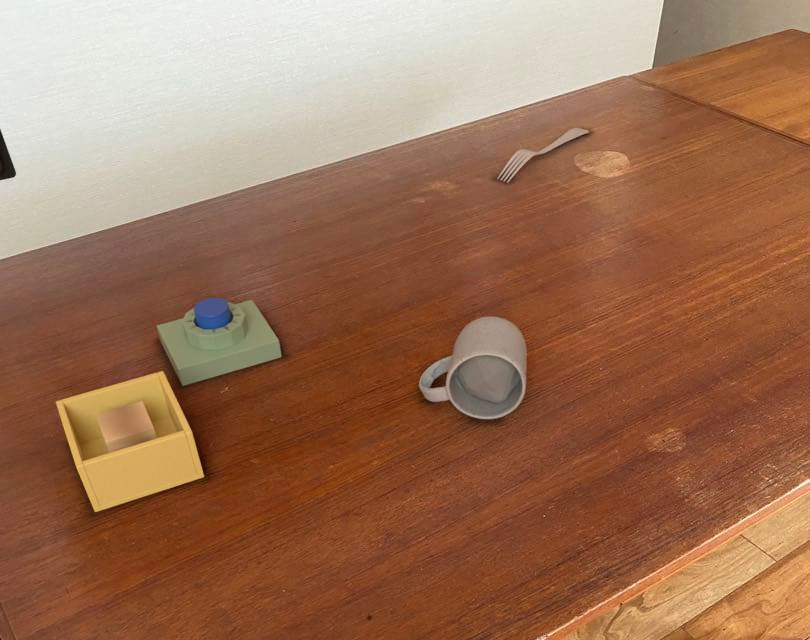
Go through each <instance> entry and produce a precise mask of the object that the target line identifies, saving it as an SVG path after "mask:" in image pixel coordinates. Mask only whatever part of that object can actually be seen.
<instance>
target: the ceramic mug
mask: <svg viewBox="0 0 810 640" xmlns="http://www.w3.org/2000/svg"><path fill="white" fill-rule="evenodd" d="M452 350H453V352H452V354H451V355H449V356H447V357H444V358H441V359H439V360H437V361H435V362H433V364H431V365H430V366H428V368H427V369H426V370H424V371H423V373H422V375H421V376H420V378H419V381H418V388H419V390H420V392H421V394H422V395H423V397H424V399H426V400H427V401H429V402H432V403H441V402H447V401H450V402H451V404H452V405H453V406H454V407H455V408H456V409H457V410H458V411H459V412H460V413H463V415H466V416H468V417H471V418H474V419H480V420H495V419H496V420H497V419H500V418H503V417H505V416H507V415H509V414H511V413H512V412H513V411H515V410H516V409H517V408H518V407H519V406H520V404H521V403H522V401H523V400H524V398H525V395H526V391H527V368H528V367H527V361H528V360H527V359H528V351H527V350H528V349H527V344H526V340H525V337H524V334H523V333H522V331H521V330H520V329H519V327H518V326H517V325H516V324H515V323H513V322H512V321H510V320H508V319H507V318H504V317H500V316H496V315H485V316H480V317H477V318H476V319H474V320H471V321H470V322H468V324H467V325H465V326H464V328H462V330H461V331H460V333H459V334H458V336H457V338H456V340H455V343H454V347H453V349H452ZM444 374H446V379H445V385H444V386H441V387H432V384H433V383H434V381H435V380H436V379H438V378H439V377H440V376H442V375H444Z"/></svg>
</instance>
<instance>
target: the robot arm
mask: <svg viewBox="0 0 810 640" xmlns="http://www.w3.org/2000/svg"><path fill="white" fill-rule="evenodd" d="M6 143H7V142H6V141H5V138H4V135H3V132H2V129H1V128H0V181H4V180H8V179H13V178H15V177H16V176H17V171H16V169H15V166H14V163H13V160H12V157H11V154H10V151H9V148H8V147H7V144H6Z"/></svg>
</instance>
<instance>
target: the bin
mask: <svg viewBox="0 0 810 640" xmlns="http://www.w3.org/2000/svg"><path fill="white" fill-rule="evenodd" d="M140 401H143V403H144V406H145V408H146V410H147V413H148V415H149V417H150V420H151V422H152V424H153V427H154V429H155V433H156V436H157V439H154V440H150V441H147V442H144V443H141V444H137V445H134V446H131V447H128V448H124V449H121V450H118V451H114V452H111V453H109V451H108V448H107V445H106V443H105V440H104V437H103V434H102V432H101V429H100V426H99V423H98V421H97V418H96V414H99V413H103V412H106V411H109V410H113V409H116V408H120V407H123V406H126V405H130V404H133V403H137V402H140ZM55 405H56V409H57V411H58V414H59V418H60V421H61V424H62V426H63V430H64V433H65V436H66V439H67V442H68V446H69V449H70V452H71V456H72V458H73V461H74V465H75V468H76V470H77V472H78V473H77V474H78V475H79V478H80V480H81V482H82V485H83V487H84V489H85V492H86V494H87V497H88V499H89V502H90V505H91V506H92V508H93V511H94V513H97V512H100V511H103V510H107V509H110V508H112V507H116V506H120V505H122V504H126V503H128V502H131V501H134V500H138V499H141V498H144V497H147V496H150V495H153V494H156V493H159V492H162V491H166V490H168V489H173V488H174V487H177V486H181V485H184V484H187V483H191V482H194V481H196V480H199V479H203V478H205V474H204V471H203V466H202V463H201V459H200V456H199V455H200V454H199V452H198V448H197V443H196V440H195V437H194V432H193V430H192V429H191V427H190V425H189V422H188V420H187V418H186V416H185V414H184V412H183V409H182V408H181V405H180V404H179V401H178V399H177V396H176V395H175V393H174V391H173V389H172V386H171V384H170V382H169V380H168V377H167V375H166V373H165V372H164V371H163V370H161V371H158V372H153V373H150V374H147V375H143V376H139V377H136V378H132V379H129V380H126V381H122V382H119V383H115V384H111V385H108V386H104V387H101V388H97V389H93V390H90V391H87V392H84V393H81V394H80V393H79V394H76V395H73V396H70V397H65V398H63V399H60V400H56V401H55Z"/></svg>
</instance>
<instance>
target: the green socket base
mask: <svg viewBox="0 0 810 640" xmlns="http://www.w3.org/2000/svg"><path fill="white" fill-rule="evenodd" d="M226 302H227V303H228V305H229V310H230V315H231V322H230V323H229V324H227V325H226V326H225V327H221V328H218V329H214V330H212V329H202V328H200V327H199V326H198V325H197V321H196V317H195V312H194V307H193V308H192V309H190V310H188V311H187V312H186V313H185V314H184V316H183V317H182V318H178V319H175V320H171V321H168V322H164V323H161V324H157V325H156V329H157V335H158V338H159V340H160V343H161V345H162V347H163V349H164V352H165V354H166V356H167V358H168V359H169V362H170V364H171V366H172V367H173V370H174V371H175V374H176V376H177V378H178V381H179V382H180V384H181V386H182V387H184V386H188V385H191V384H194V383H197V382H201V381H204V380H208V379H212V378H215V377H218V376H221V375H225V374H228V373H232V372H236V371H239V370H242V369H243V370H244V369H246V368H250V367H252V366H255V365H256V366H257V365H259V364H263V363H266V362H271V361H273V360H277V359H279V358H282V349H281V344H280V340H279V338H278V336H277V335H276V334H275V332H274V331H273V329H272V328H271V326H270V325H269V323H268V321H267V320H266V318H265V317H264V315H263V314H262V312H261V310H260V309H259V308H258V306H257V305H256V303H255V301H254V300H253V299H250V300H245V301H243V302H238V303H235V304H234V303H233V302H230V301H226Z"/></svg>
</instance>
